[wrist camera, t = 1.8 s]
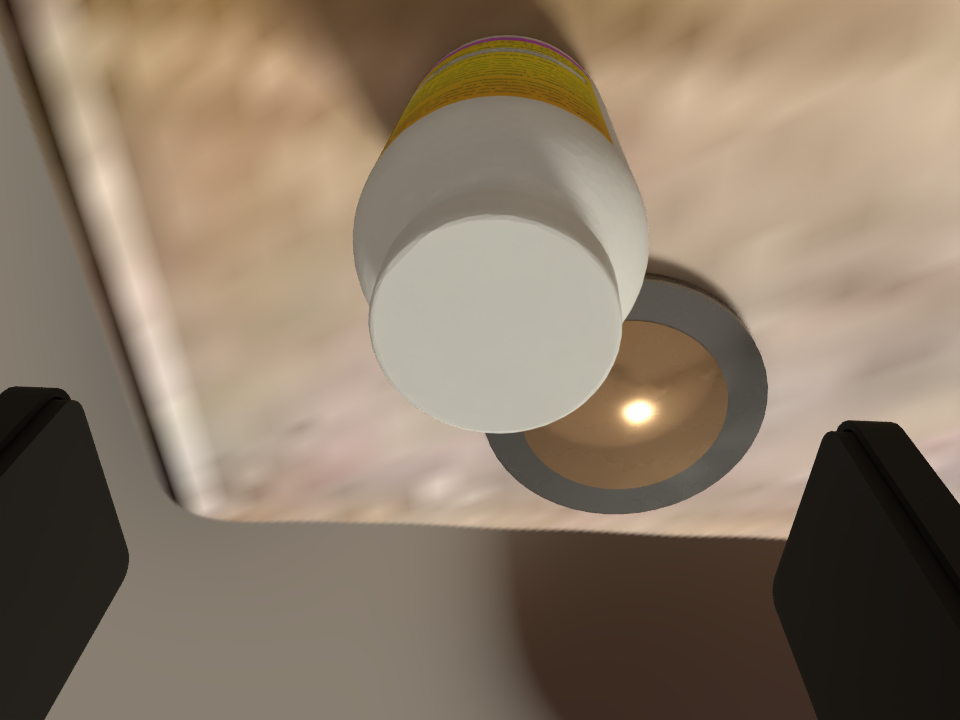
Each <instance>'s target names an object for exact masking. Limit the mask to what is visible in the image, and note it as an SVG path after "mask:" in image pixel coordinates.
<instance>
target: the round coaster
mask: <svg viewBox="0 0 960 720" xmlns="http://www.w3.org/2000/svg"><path fill="white" fill-rule="evenodd" d="M767 394H768V384H767V376H766V370H765V367H764V363H763V360H762V357H761V354H760V352H759V350H758V348H757V346H756V344H755V342H754V340H753V339H752V337H751V335H750V333H749V331H748V330H747V328H746V327H745V325H744V324H743V323H742V321H741V320H740V319H739V317H738V316H737V315H736V314H735V313H734V312H733V311H732V310H731V309H730V308H729V307H728V306H727V305H726V304H724V303H723V302H722V301H720V300H719V299H717V298H716V297H715V296H713V295H712V294H710V293H708V292H706V291H705V290H703V289H701V288H699V287H697V286H695V285H692V284H690V283H687V282H684V281H682V280H679V279H675V278H671V277H667V276H663V275H657V274H648V273H645V276H644V280H643V284H642V287H641V289H640V292H639V294H638V296H637V299H636V301H635V303H634V305H633V307H632V309H631V311H630V313H629V314H628V316H627V317H626V319H625V320H624V322H623V323H622V337H621V342H620V347H619V351H618V354H617V357H616V359H615V362H614V364H613V366H612V368H611V370H610V372H609V374H608V376H607V378H606V379H605V380H604V382H603V383H602V385H601V386H600V387H599V388H598V389H597V391H596V392H595V393H594V394H593V395H592V396H591V397H590V398H589V399H588V400H587V401H586V402H585V403H584V404H582V405H581V406H580V407H579V408H577V409H576V410H574V411H573V412H571V413H570V414H568V415H566V416H565V417H563V418H561V419H559V420H556V421H554V422H552V423H550V424H547V425H545V426H542V427H538V428H535V429H531V430H526V431H521V432H515V433H486V436H487V438H488V441H489V444H490V446H491V448H492V450H493V451H494V453H495V455H496V457H497V458H498V460H499V461H500V462H501V464H502V465H503V466H504V468H505V469H506V470H507V471H508V472H509V473H510V474H511V475H512V476H513V477H514V478H515V479H516V480H517V481H518V482H520V483H521V484H522V485H524V486H525V487H526V488H528V489H529V490H530V491H532V492H534V493H536V494H537V495H539V496H541V497H542V498H545V499H547V500H549V501H551V502H554V503H556V504H559V505H562V506H565V507H568V508H571V509H575V510H580V511H585V512H591V513H601V514H629V513H640V512H645V511H651V510H656V509H659V508H663V507H666V506H670V505H673V504H676V503H678V502H681V501H683V500H686V499H688V498H690V497H692V496H694V495H696V494H698V493H700V492H702V491H704V490H705V489H707V488H708V487H710V486H711V485H713V484H714V483H716V482H717V481H718V480H720V479H721V478H722V477H723V476H724V475H726V474H727V473H728V472H729V471H730V470H731V469H732V468H733V467H734V466H735V465H736V464H737V463H738V462H739V461H740V460H741V459H742V457H743V456H744V455H745V453H746V452H747V451H748V449H749V448H750V446H751V445H752V443H753V441H754V439H755V438H756V436H757V434H758V432H759V429H760V427H761V424H762V421H763V419H764V415H765V410H766V405H767Z"/></svg>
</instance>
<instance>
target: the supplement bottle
mask: <svg viewBox="0 0 960 720" xmlns="http://www.w3.org/2000/svg"><path fill="white" fill-rule="evenodd" d="M353 252H354V260H355V267H356V271H357V275H358V278H359V282H360V285H361V288H362V291H363V293H364V296H365V298H366V300H367V302H368V304H369V331H370V338H371V342H372V347H373V350H374V353H375V356H376V358H377V361H378V363H379V365H380V367H381V369H382V371H383V372H384V374H385V376H386V377H387V379H388V380H389V381H390V383H391V384H392V385H393V386H394V388H395V389H396V390H397V391H398V392H399V393H400V394H401V395H402V396H403V397H404V398H405V399H406V400H407V401H408V402H410V403H411V404H412V405H413V406H415V407H416V408H417V409H419V410H421V411H423V412H424V413H425V414H427V415H429V416H431V417H433V418H435V419H437V420H439V421H441V422H443V423H446V424H448V425H451V426H453V427H456V428H461V429H465V430H470V431H475V432H483V433H515V432H521V431H526V430H531V429H535V428H538V427H542V426H545V425H547V424H550V423H552V422H554V421H556V420H559V419H561V418H563V417H565V416H566V415H568V414H570V413H571V412H573V411H574V410H576V409H577V408H579V407H580V406H581V405H582V404H584V403H585V402H586V401H587V400H588V399H589V398H590V397H591V396H592V395H593V394H594V393H595V392H596V391H597V389H598V388H599V387H600V386H601V385H602V383H603V382H604V380H605V379H606V378H607V376H608V374H609V372H610V370H611V368H612V366H613V364H614V362H615V359H616V357H617V354H618V351H619V347H620V342H621V337H622V323H623V322H624V320H625V319H626V317H627V316H628V314H629V313H630V311H631V309H632V307H633V305H634V303H635V301H636V299H637V296H638V294H639V292H640V289H641V287H642V284H643V280H644V276H645V272H646V268H647V264H648V256H649V230H648V221H647V215H646V210H645V206H644V203H643V199H642V196H641V194H640V191H639V188H638V186H637V184H636V181H635V179H634V177H633V174H632V172H631V170H630V167H629V165H628V163H627V160H626V158H625V155H624V153H623V151H622V148H621V146H620V143H619V141H618V138H617V135H616V133H615V130H614V127H613V125H612V122H611V120H610V117H609V115H608V112H607V110H606V107H605V105H604V102H603V100H602V98H601V96H600V94H599V91H598V90H597V88H596V86H595V84H594V83H593V81H592V80H591V78H590V77H589V76H588V74H587V73H586V72H585V71H584V69H583V68H582V67H581V66H580V65H579V64H578V63H577V62H576V61H575V60H574V59H572V58H571V57H570V56H569V55H567V54H566V53H564V52H563V51H561V50H560V49H558V48H556V47H554V46H552V45H550V44H548V43H546V42H543V41H541V40H537V39H534V38H530V37H525V36H516V35H497V36H489V37H485V38H480V39H477V40H474V41H471V42H469V43H466V44H464V45H462V46H460V47H459V48H457V49H455V50H453V51H452V52H450V53H449V54H447V55H446V56H444V57H443V58H442V59H441V60H440V61H438V62H437V63H436V64H435V65H434V66H433V67H432V69H431V70H430V71H429V72H428V73H427V74H426V76H425V77H424V78H423V80H422V81H421V82H420V84H419V85H418V87H417V89H416V90H415V92H414V94H413V96H412V98H411V100H410V101H409V103H408V105H407V107H406V109H405V111H404V113H403V115H402V116H401V118H400V120H399V122H398V124H397V126H396V127H395V129H394V131H393V133H392V135H391V136H390V138H389V140H388V142H387V144H386V146H385V148H384V149H383V151H382V153H381V155H380V157H379V158H378V160H377V162H376V164H375V166H374V167H373V169H372V171H371V173H370V175H369V177H368V179H367V181H366V183H365V186H364V188H363V190H362V193H361V196H360V199H359V202H358V206H357V209H356V214H355V220H354V229H353Z"/></svg>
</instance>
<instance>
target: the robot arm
mask: <svg viewBox="0 0 960 720" xmlns="http://www.w3.org/2000/svg"><path fill="white" fill-rule="evenodd" d="M128 563H129V553H128V549H127V545H126V542H125V539H124V536H123V533H122V529H121V526H120V523H119V520H118V517H117V514H116V510H115V507H114V504H113V501H112V498H111V495H110V491H109V488H108V485H107V482H106V479H105V476H104V473H103V469H102V466H101V463H100V460H99V457H98V454H97V451H96V447H95V444H94V441H93V438H92V435H91V432H90V428H89V425H88V422H87V419H86V416H85V413H84V410H83V408H82V405H81V404H80V403H79V402H78V401H74V400H71V399H70V397H69V395H68V394H67V393H66V392H65V391H64V390H62V389H59V388H43V387H18V386H15V387H10V388H8V389H7V390H5V391H4V392H2V393H1V394H0V720H44V719H45V718H46V716H47V714H48V712H49V711H50V709H51V707H52V705H53V704H54V702H55V700H56V698H57V696H58V695H59V693H60V691H61V689H62V688H63V686H64V684H65V682H66V681H67V679H68V677H69V675H70V674H71V672H72V670H73V668H74V666H75V665H76V663H77V661H78V660H79V658H80V656H81V654H82V653H83V651H84V649H85V647H86V645H87V644H88V642H89V640H90V638H91V637H92V635H93V633H94V631H95V630H96V628H97V626H98V624H99V623H100V621H101V619H102V617H103V616H104V614H105V612H106V610H107V609H108V607H109V605H110V603H111V601H112V600H113V598H114V596H115V594H116V593H117V591H118V589H119V587H120V586H121V584H122V582H123V580H124V578H125V576H126V573H127V569H128ZM773 599H774V604H775V607H776V611H777V613H778V616H779V619H780V621H781V624H782V626H783V629H784V632H785V634H786V637H787V639H788V642H789V645H790V647H791V650H792V653H793V655H794V658H795V661H796V663H797V666H798V668H799V671H800V673H801V676H802V678H803V681H804V684H805V687H806V689H807V692H808V694H809V697H810V700H811V702H812V705H813V707H814V710H815V713H816V715H817V718H818V720H960V504H959V503H958V502H957V500H956V499H955V498H954V496H953V495H952V494H951V492H950V491H949V490H948V488H947V487H946V486H945V484H944V483H943V482H942V480H941V479H940V478H939V476H938V475H937V474H936V472H935V471H934V470H933V469H932V467H931V466H930V465H929V463H928V462H927V461H926V459H925V458H924V457H923V455H922V454H921V453H920V451H919V450H918V449H917V447H916V446H915V445H914V443H913V442H912V441H911V439H910V438H909V437H908V435H907V434H906V433H905V431H904V430H903V429H902V428H901V427H900V426H899V425H898V424H896V423H893V422H877V421H853V420H848V421H844V422H842V424H841V425H840V426H839V427H838V429H837V431H830V432H827V433H826V434H825V435H824V437H823V439H822V441H821V444H820V447H819V450H818V453H817V456H816V459H815V462H814V465H813V467H812V470H811V473H810V476H809V479H808V482H807V485H806V488H805V491H804V494H803V496H802V499H801V502H800V505H799V508H798V511H797V514H796V517H795V520H794V522H793V525H792V528H791V531H790V534H789V537H788V540H787V543H786V546H785V549H784V552H783V554H782V557H781V560H780V563H779V566H778V569H777V572H776V575H775V578H774V582H773Z"/></svg>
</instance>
